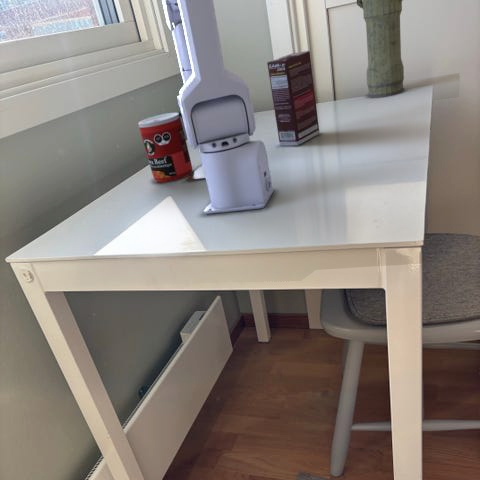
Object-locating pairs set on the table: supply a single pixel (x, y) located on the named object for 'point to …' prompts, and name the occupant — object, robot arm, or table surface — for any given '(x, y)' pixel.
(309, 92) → the supplement box
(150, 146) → the canned food
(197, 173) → the white flat piece
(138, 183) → the table surface
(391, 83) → the thermos
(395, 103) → the table surface
